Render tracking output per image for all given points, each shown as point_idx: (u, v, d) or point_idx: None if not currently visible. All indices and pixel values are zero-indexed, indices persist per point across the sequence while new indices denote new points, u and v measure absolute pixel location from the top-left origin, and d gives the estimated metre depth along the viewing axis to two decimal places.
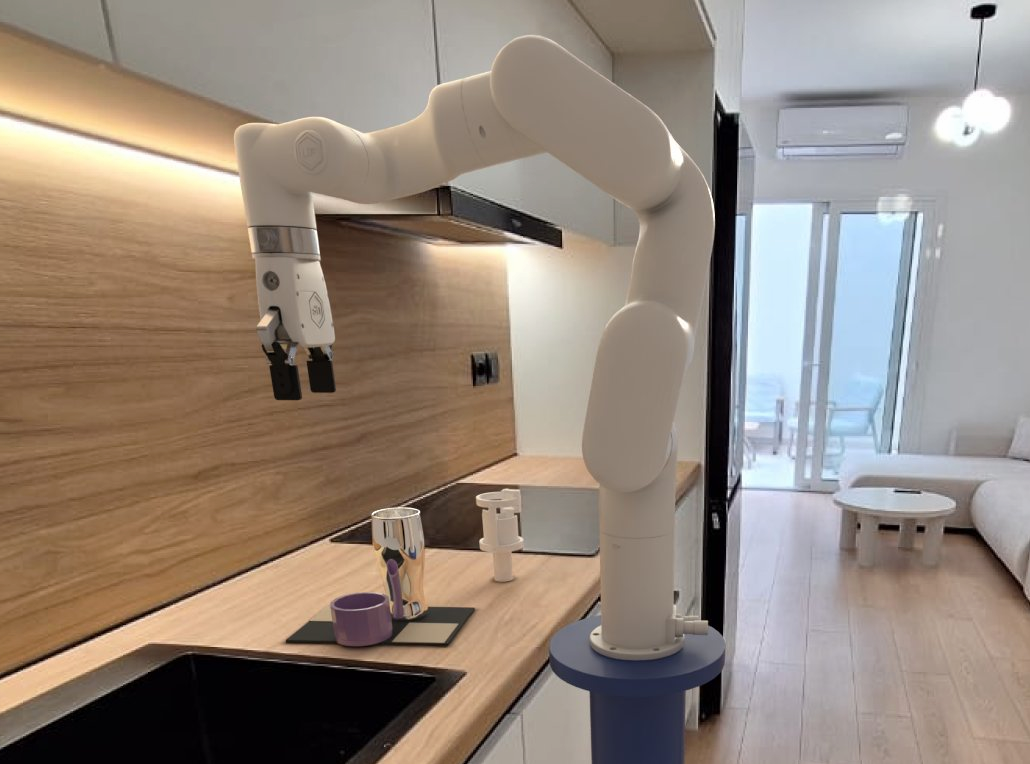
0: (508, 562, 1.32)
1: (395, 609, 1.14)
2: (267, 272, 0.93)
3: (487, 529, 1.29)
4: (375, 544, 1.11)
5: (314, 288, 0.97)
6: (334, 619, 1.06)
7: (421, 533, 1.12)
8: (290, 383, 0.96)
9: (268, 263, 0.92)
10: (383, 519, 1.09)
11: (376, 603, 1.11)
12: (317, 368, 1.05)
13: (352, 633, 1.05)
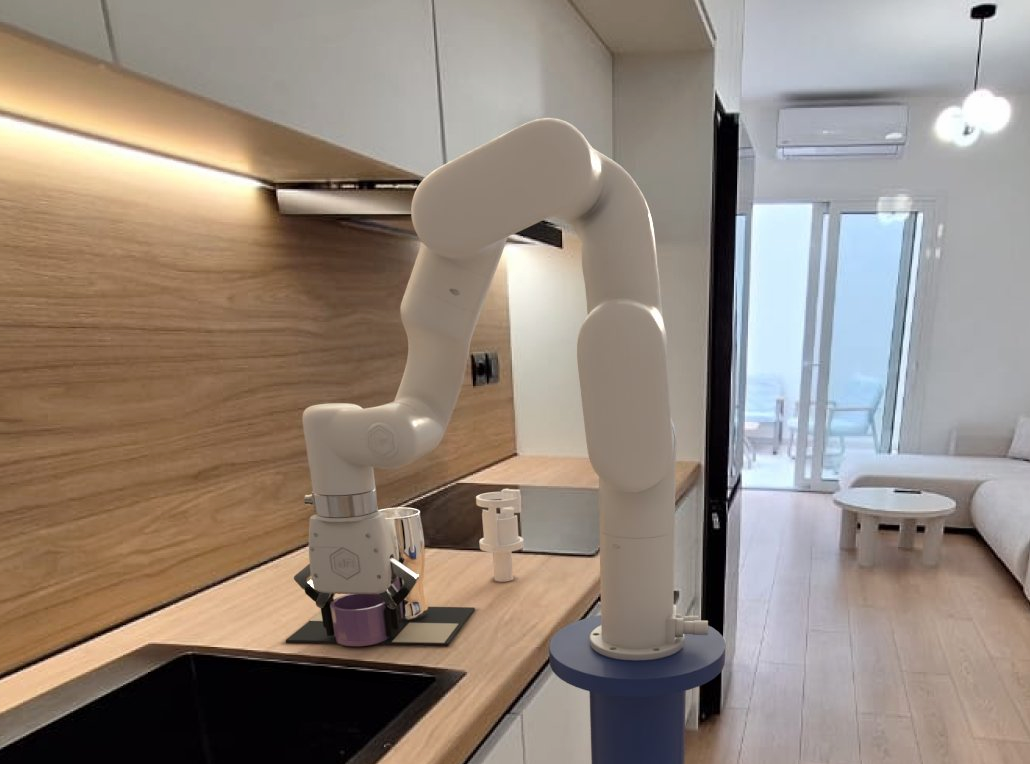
0: (508, 562, 1.32)
1: None
2: None
3: (487, 528, 1.29)
4: None
5: (342, 545, 1.02)
6: (334, 619, 1.06)
7: (421, 533, 1.12)
8: (325, 621, 1.08)
9: None
10: None
11: (376, 603, 1.11)
12: None
13: (352, 633, 1.05)
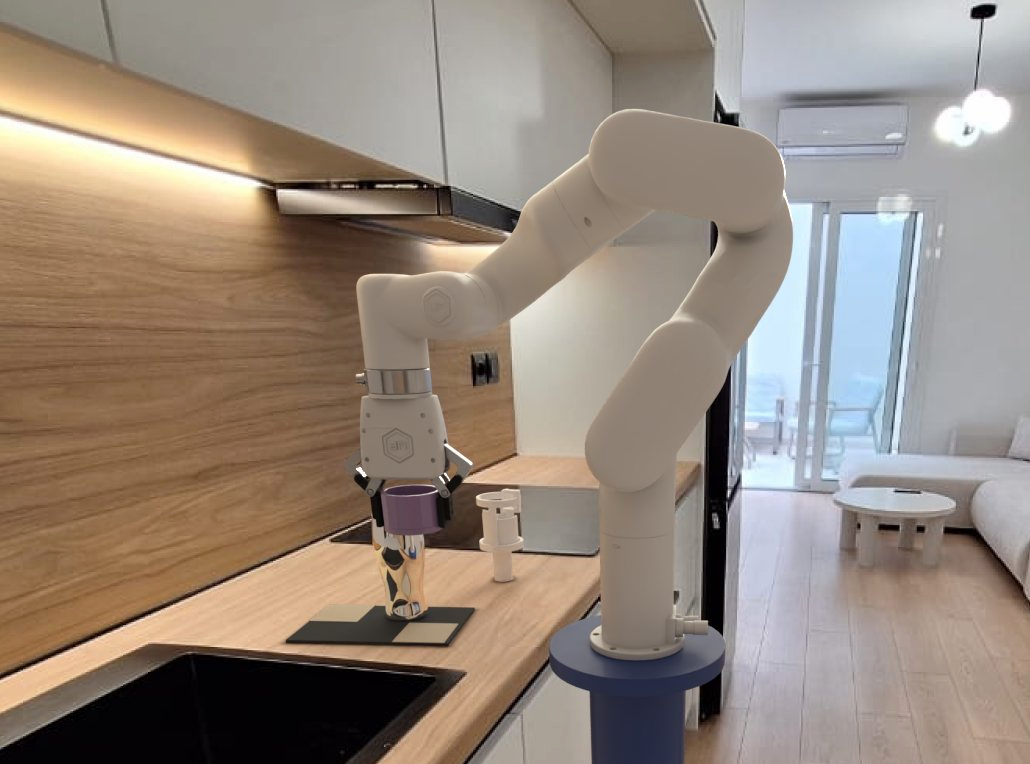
0: (508, 562, 1.32)
1: (395, 609, 1.14)
2: None
3: (487, 528, 1.29)
4: (375, 544, 1.11)
5: (396, 425, 0.98)
6: (385, 507, 1.01)
7: None
8: (374, 511, 1.04)
9: None
10: None
11: None
12: None
13: (404, 521, 1.01)
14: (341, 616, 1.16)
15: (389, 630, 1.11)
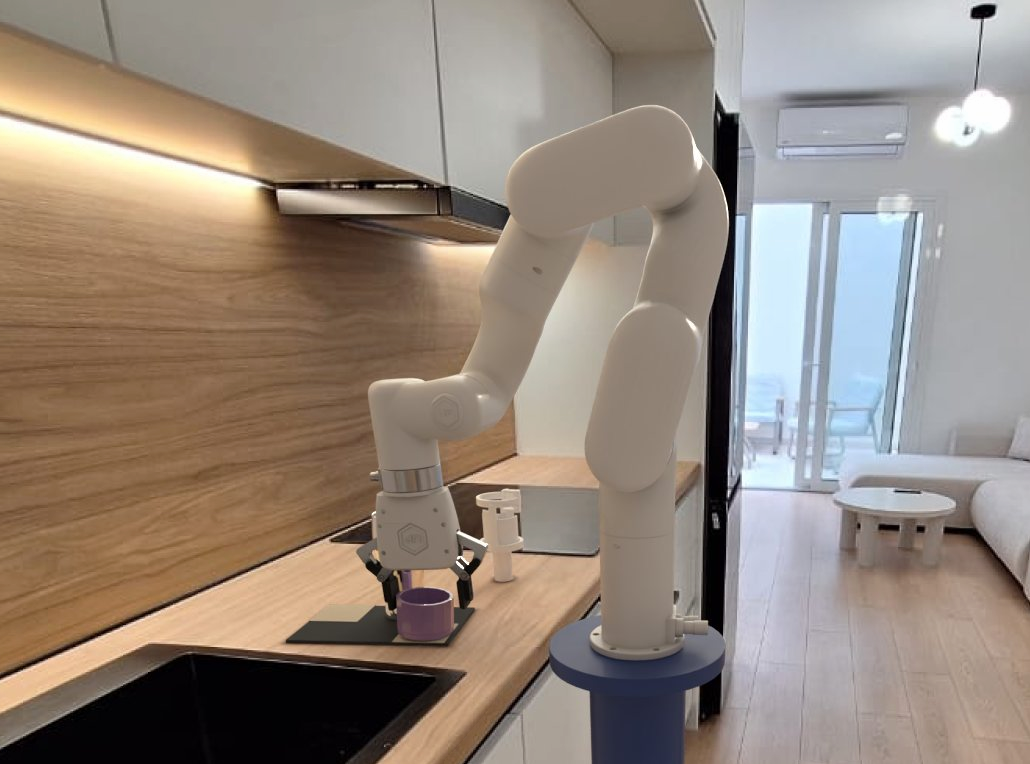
0: (508, 562, 1.32)
1: (395, 609, 1.14)
2: None
3: (487, 528, 1.29)
4: None
5: (410, 520, 1.02)
6: (399, 612, 1.07)
7: None
8: (386, 595, 1.08)
9: None
10: None
11: (438, 598, 1.12)
12: None
13: (417, 627, 1.06)
14: (341, 616, 1.16)
15: (389, 630, 1.11)
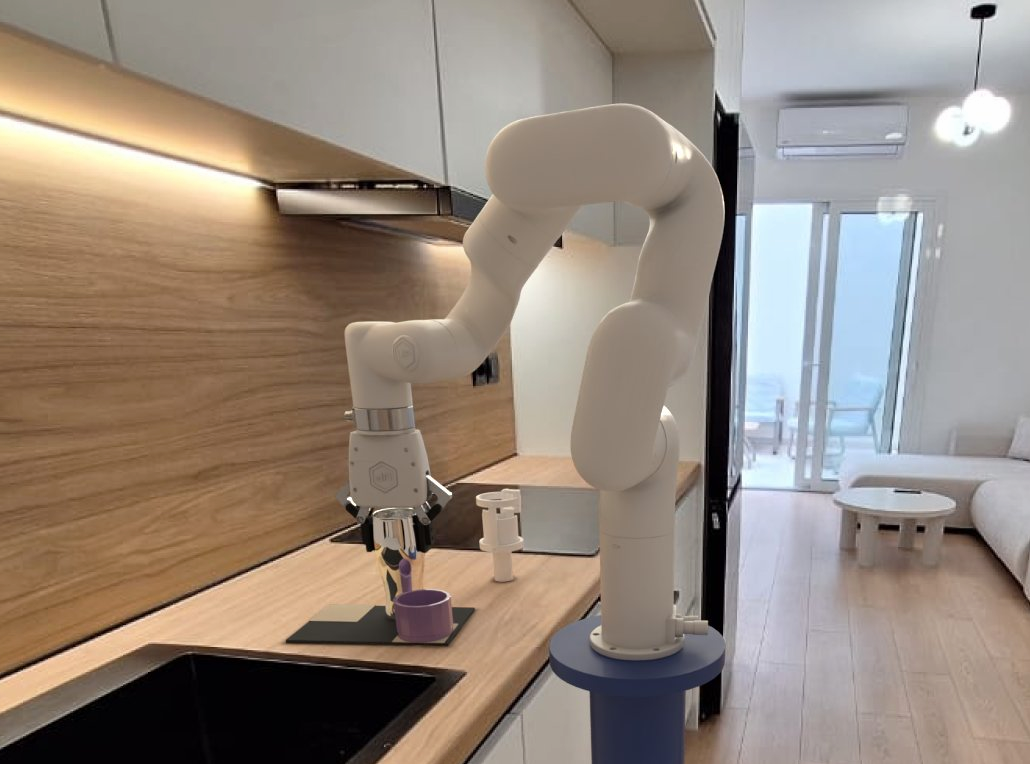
0: (508, 562, 1.32)
1: None
2: None
3: (487, 528, 1.29)
4: (375, 544, 1.11)
5: (381, 458, 1.06)
6: (398, 615, 1.07)
7: None
8: (364, 537, 1.12)
9: None
10: (383, 519, 1.09)
11: (436, 600, 1.12)
12: None
13: (416, 629, 1.06)
14: (341, 616, 1.16)
15: (389, 630, 1.11)
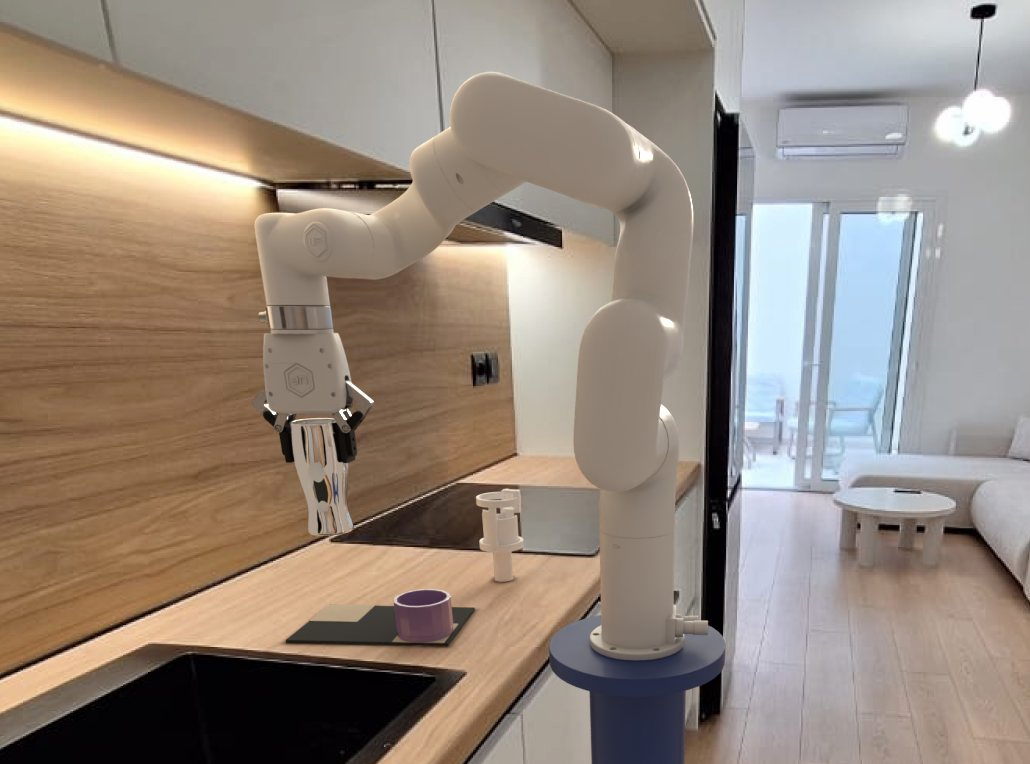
0: (508, 562, 1.32)
1: (317, 523, 1.10)
2: None
3: (487, 528, 1.29)
4: (293, 453, 1.07)
5: (296, 360, 1.02)
6: (398, 615, 1.07)
7: None
8: None
9: None
10: (300, 425, 1.05)
11: (436, 600, 1.12)
12: None
13: (416, 629, 1.06)
14: (341, 616, 1.16)
15: (389, 630, 1.11)
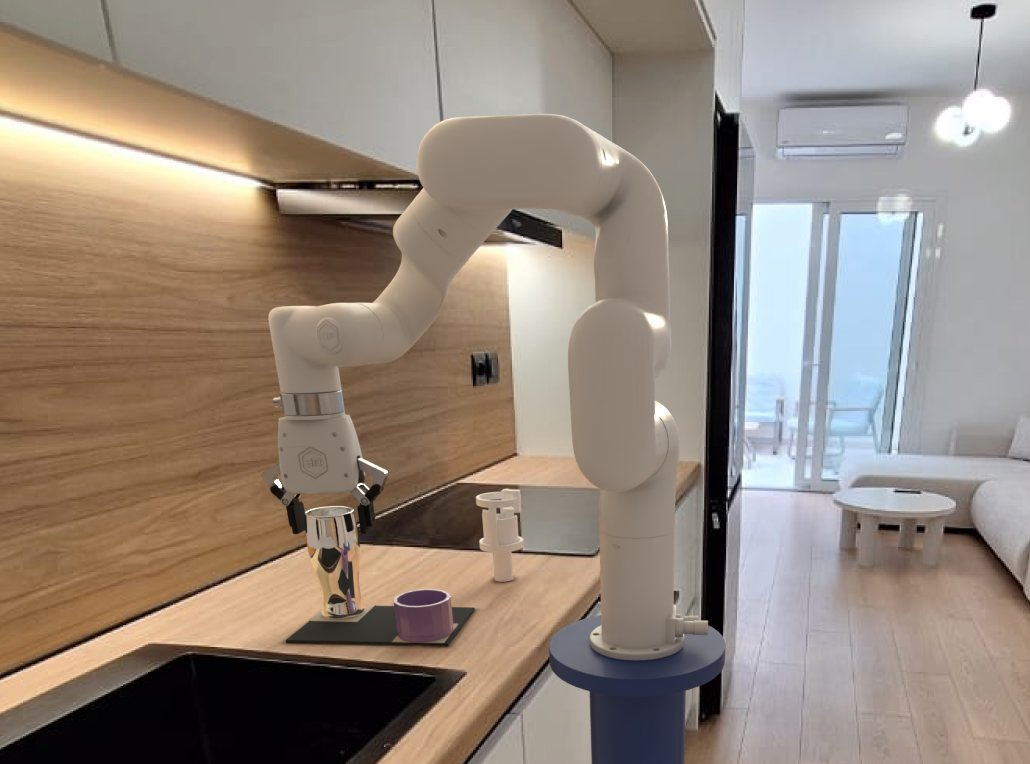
0: (508, 562, 1.32)
1: (330, 607, 1.14)
2: None
3: (487, 528, 1.29)
4: (308, 542, 1.11)
5: (310, 444, 1.06)
6: (398, 615, 1.07)
7: (355, 531, 1.13)
8: None
9: None
10: (315, 517, 1.09)
11: (436, 600, 1.12)
12: None
13: (416, 629, 1.06)
14: None
15: (389, 630, 1.11)
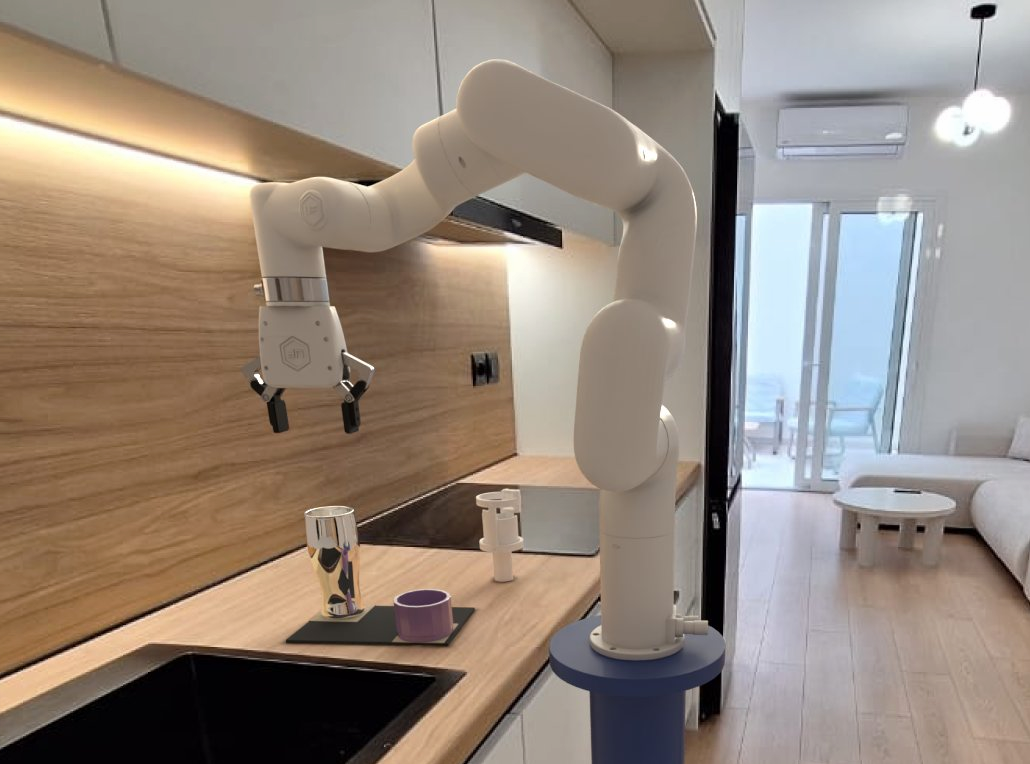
0: (508, 562, 1.32)
1: (330, 607, 1.14)
2: None
3: (487, 529, 1.29)
4: (308, 542, 1.11)
5: (292, 333, 1.01)
6: (398, 615, 1.07)
7: (355, 531, 1.13)
8: None
9: None
10: (315, 517, 1.09)
11: (436, 600, 1.12)
12: None
13: (416, 629, 1.06)
14: None
15: (389, 630, 1.11)
